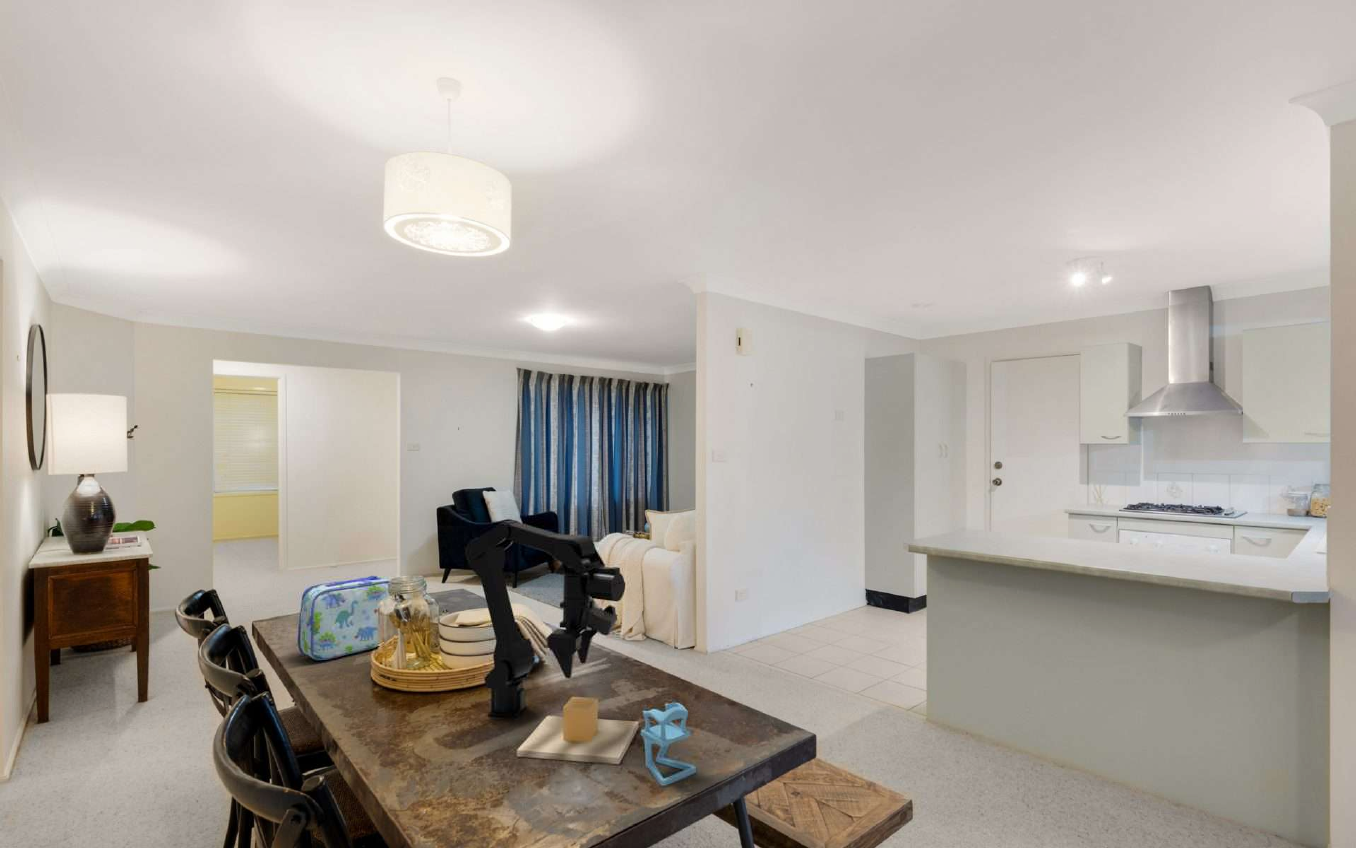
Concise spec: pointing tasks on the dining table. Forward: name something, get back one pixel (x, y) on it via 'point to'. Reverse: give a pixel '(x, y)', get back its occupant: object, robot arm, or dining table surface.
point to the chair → (666, 740)
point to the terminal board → (600, 749)
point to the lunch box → (340, 617)
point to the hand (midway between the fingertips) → (575, 670)
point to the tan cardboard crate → (580, 719)
